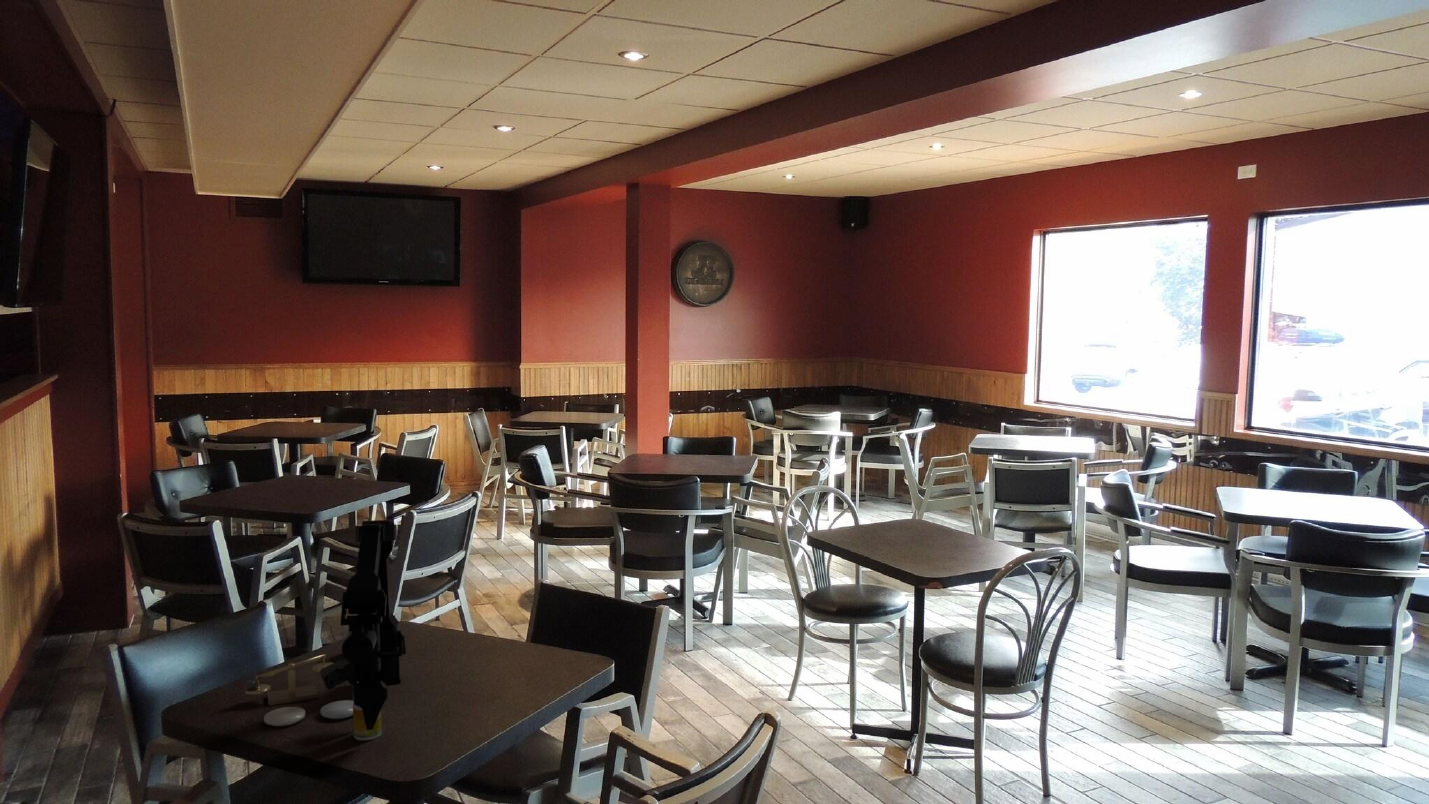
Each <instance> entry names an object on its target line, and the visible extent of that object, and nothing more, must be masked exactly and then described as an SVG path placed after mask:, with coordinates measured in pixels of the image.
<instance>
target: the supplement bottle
mask: <svg viewBox="0 0 1429 804" xmlns="http://www.w3.org/2000/svg"><path fill="white" fill-rule="evenodd" d="M352 718H353V719H352V723H353V724H352V725H353V726H352V727H353V728H352V730H353V738H354V739H355V740H356V741H370V740H374V739H377V738H379V737H380V736H381V735H382V710H381V711H380V713H379V715H378V718H377V720H376V722H375V725H374V727H373V729H372V730H367V728H366V724H365V720H364V716H363V712H362V708H360V707H359V706H356V705H355V704H354V702H353V715H352Z"/></svg>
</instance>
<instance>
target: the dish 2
mask: <svg viewBox="0 0 1429 804" xmlns="http://www.w3.org/2000/svg"><path fill="white" fill-rule="evenodd" d="M353 702H354V701H353V700H349V699H348V700H346V699H345V700H337V701H332V702H330V703H329V702H328V704H327V703H326V704H325V705H324V706H321V708H320V716H322V717H323V718H327V719H329V720H343V719H347V718H350V717H353Z"/></svg>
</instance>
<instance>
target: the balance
mask: <svg viewBox="0 0 1429 804" xmlns="http://www.w3.org/2000/svg"><path fill="white" fill-rule="evenodd" d="M326 657H327V654H326V653H324V654H323V653H322V654H320V655H317V656H313V657H310V658H307V659H305V660H302V661H299V662H296V663H294V662H290V663H288V665H285V666H283V667H281V668H280V667H279V668H276V669H274V670H271V671H268V672H265V673H262V674H258V675H256V676H255V679H248V680H246V681H245V682H244V683H245V685H244V686H245V694H246V695H249V696H257V695H262V694H266V693H267V705H270V706H276V705H283V704H290V703H296V702H301V701H303V700H304V701H308V700H309V699H310V700H315V699H314V698H317V699H318V689H317V687H316V684H313V685H306V686H299V687H296V668H299V667H302V666H305V665H308V664H310V663H314V662H316V661H320V660H322V659H323V660H322V661H323V662H321V663H318V664H315V665H313V666H312V672H314V673H320V670H321V669H323V668H325V667H327V666H329V665H331V664H333V663H334V662H326ZM283 672H287V678H288V681H287V682H288V683H287V684H288V688H285V689H279V690H278V689H277V690H272V688H271V687H272V686H271V685H269V684H265V683H263V684H262V683H261V684H260V680H262V679H265V678H268V677H272V676H273V675H277V674H281V673H283Z"/></svg>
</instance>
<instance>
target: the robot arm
mask: <svg viewBox="0 0 1429 804" xmlns="http://www.w3.org/2000/svg"><path fill="white" fill-rule="evenodd" d="M397 539H398V525H397V524H395V523H394V522H393V521H392V520H391V519H380V520H379V519H378V520H376V519H375V520H362V522H361V525H355V526H354V542H355V543H359V547H358V553H357V560H356V566H355V567H356V568H355V574H354V575H353V576H352V577H350V578H349V579H348V580H347V583H346V584H347V585H346V589H345V591H343V592H342V600H341V613H340V626H341V627H342V626H348V632H347V634H346V636H345V639H344V641H343V643H342V645H341V653H342V656H343V659H341V660H337V661H336V662H332V663H333V664H331V665H329V666H327V667H325V668H323V669H321V670H320V677H321V680H322V683H323V684H324V686H325V688H326V690H327V691H330V690H334V689H335V688H336V687H337V686H339V685H341V684H343V683H346V682H348V683H349V684H350V685H351V686H353V687H352V690H351V693H352V701H354V704H355V705H356V706H359V707H360V708H362V712H363V716H364V720H365V724H366V728H367V730H372V729H373V727H374V725H375V722H376V720H377V718H378V715H379V713H380V711H381V712H382V708H383V706H384V704H385V702H387V700H388V688H387V685H392V684H398V683H399V684H400V683H401V682H402V679H401V675H400V657H403V655H406V654H407V643H406V637H405V636H404V634H403V631H402V630H400V624H399V623H400V621H399V620H398V618H397V617H396V616H395V615H394V614H393V613H392V605H391V604H392V603H391V591H390V590H391V586H390V585H391V584H390V572H389V571H390V567H389V565H390V564H389V557H390V555H391V553H392V552H393V549H394V546H395V541H397ZM347 613H348V615H347ZM398 647H399V648H398Z"/></svg>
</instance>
